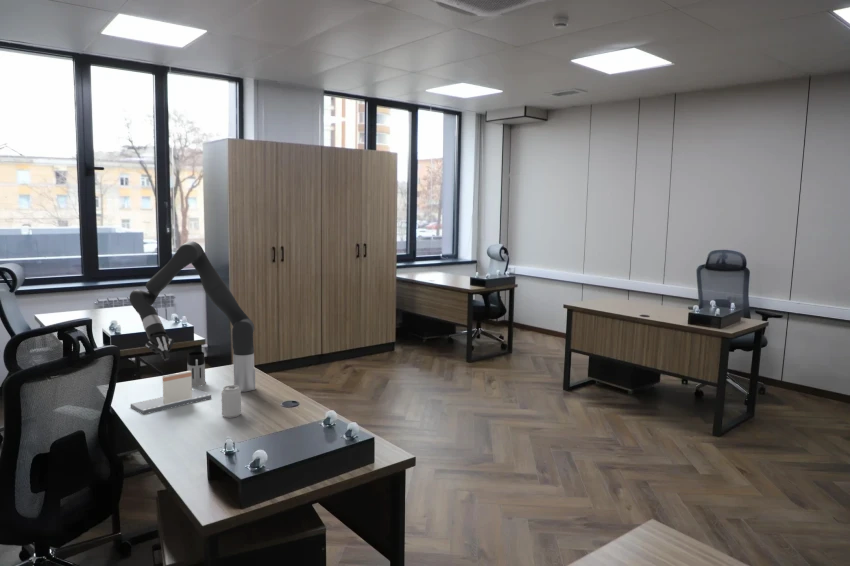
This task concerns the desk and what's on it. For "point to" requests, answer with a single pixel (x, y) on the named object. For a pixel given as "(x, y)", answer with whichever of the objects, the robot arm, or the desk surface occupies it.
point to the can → (231, 401)
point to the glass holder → (196, 368)
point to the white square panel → (177, 387)
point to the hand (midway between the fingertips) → (167, 359)
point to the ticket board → (158, 403)
